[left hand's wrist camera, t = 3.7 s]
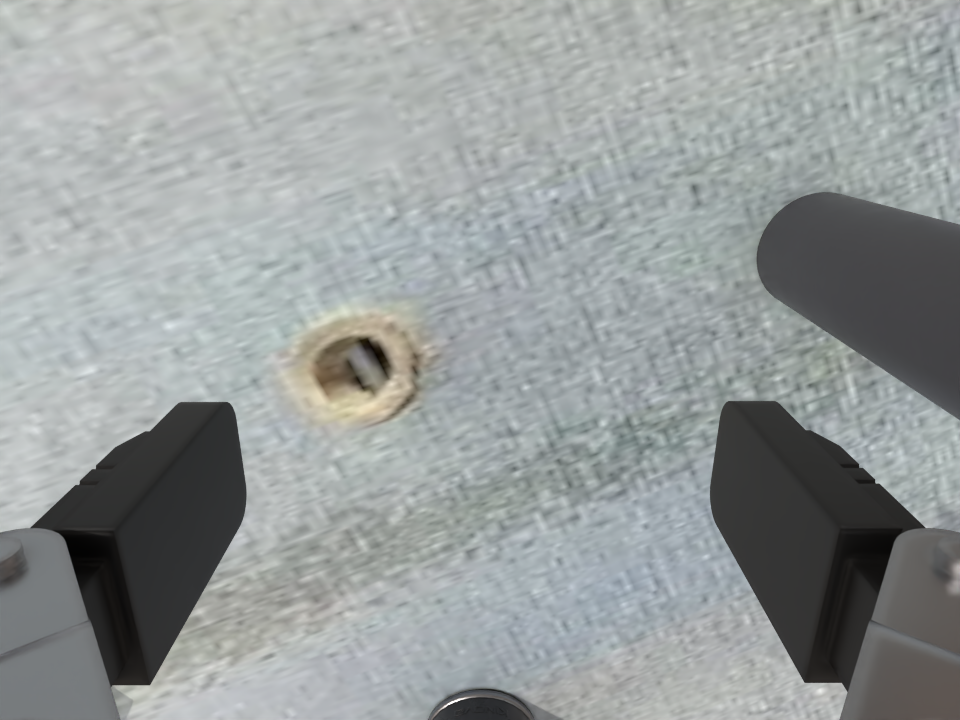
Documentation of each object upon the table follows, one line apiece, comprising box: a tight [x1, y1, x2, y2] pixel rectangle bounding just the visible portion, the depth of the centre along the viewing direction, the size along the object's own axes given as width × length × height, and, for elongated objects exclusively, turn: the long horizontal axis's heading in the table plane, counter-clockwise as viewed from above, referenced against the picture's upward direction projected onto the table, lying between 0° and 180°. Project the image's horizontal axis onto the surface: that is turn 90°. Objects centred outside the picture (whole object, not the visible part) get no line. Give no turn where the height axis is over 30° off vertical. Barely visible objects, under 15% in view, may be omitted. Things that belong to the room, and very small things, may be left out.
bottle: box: [757, 192, 960, 420], centre depth 31 cm, size 7×7×25 cm
